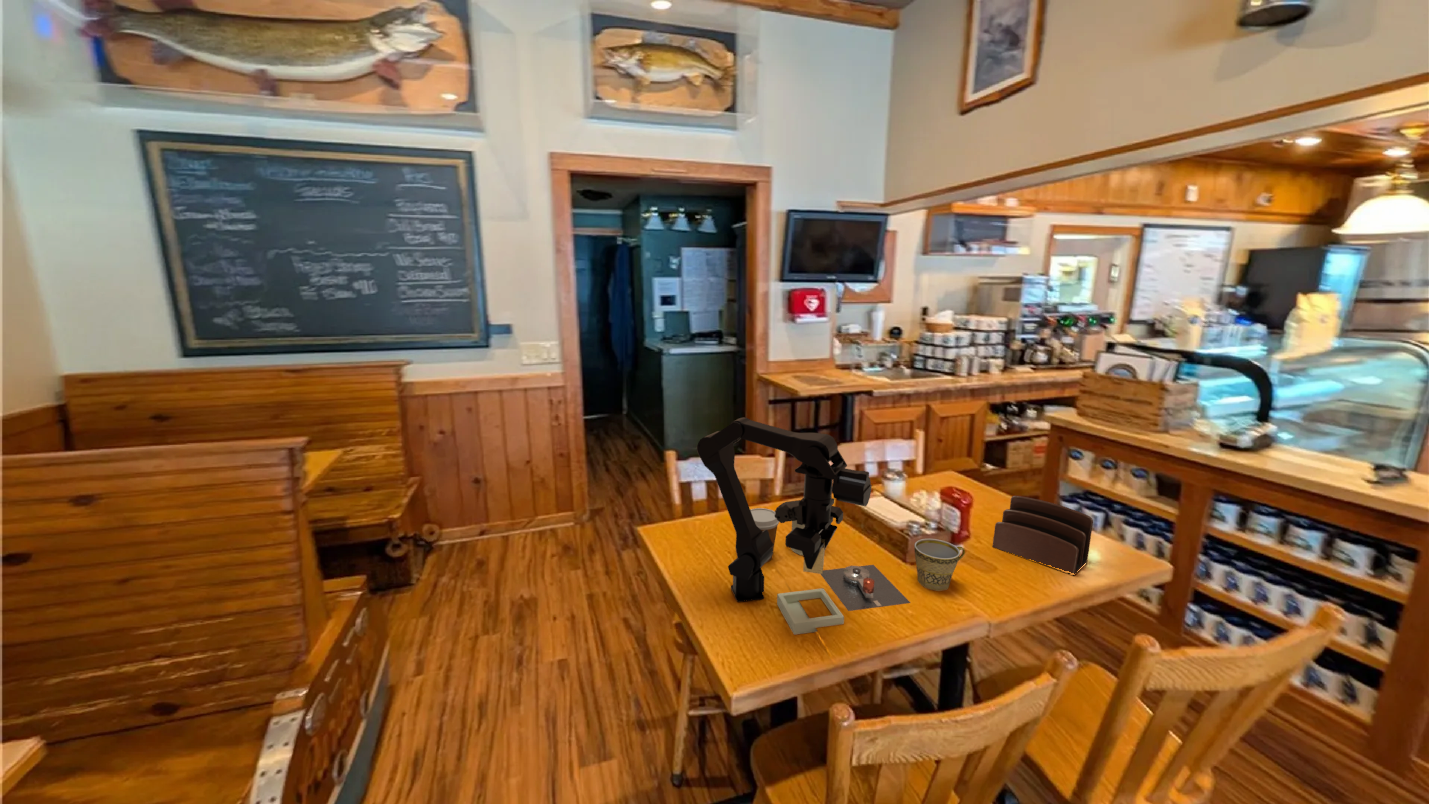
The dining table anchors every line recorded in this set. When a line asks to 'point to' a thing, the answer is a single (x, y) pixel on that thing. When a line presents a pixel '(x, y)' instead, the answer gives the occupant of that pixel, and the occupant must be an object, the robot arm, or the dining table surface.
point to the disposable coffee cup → (766, 522)
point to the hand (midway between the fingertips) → (813, 563)
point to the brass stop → (817, 562)
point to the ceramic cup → (936, 562)
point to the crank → (860, 579)
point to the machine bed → (854, 596)
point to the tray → (799, 617)
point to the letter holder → (1045, 533)
